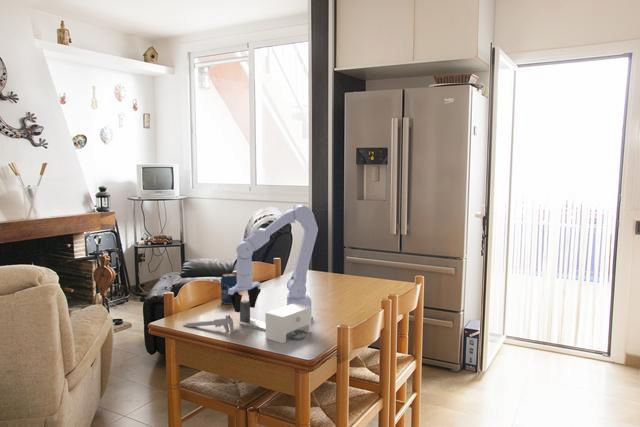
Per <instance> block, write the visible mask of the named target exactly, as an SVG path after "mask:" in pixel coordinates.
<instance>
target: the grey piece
mask: <svg viewBox="0 0 640 427" xmlns="http://www.w3.org/2000/svg"><path fill="white" fill-rule="evenodd" d="M239 323H240V325H243V326H246V327H249V328H253V329H255V330H259V331H263V332H266V321H262V320H258V319H254V318H251V307H250V301H249V300H246V299H244V300H241V303H240V312H239Z"/></svg>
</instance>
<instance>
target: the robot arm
mask: <svg viewBox="0 0 640 427" xmlns="http://www.w3.org/2000/svg"><path fill="white" fill-rule="evenodd" d="M296 221H297V222H298V223H299V224H300V226H301V227H302V228H303V229H302V230H303V231H304V232H303V235H302V239H301V244H300V247H299V251H298V254H297V258H296V262H295V267H294V270H293V272H292V274H291V277H290V278H288V281H287V283H286V287H287V290H288V291H289V292H288V294H287V295H286V306H287V305H290V304H293V303H297V304H301V305H305V306H309V307H312V299H311V297H310V296H309V295H308V294H307V286H306V284H307V274H308V270H309V266H310V262H311V258H312V254H313V251H314V249H315V248H314V246H315V243H316V240H317V236H318V231H319V227H318V224H317V221H316V218H315V214H314V212H313V211H312V210H311V208H310V207H309V206H306V205H305V204H302V203H297V204H295V205H294V206H292V207H291V208H289V209H288V210H286V211H284V212H283V213H282V214H281V215H280V216H278V217H277V218H276V219H275V220H274V221H272V222H271V223H270V224H268V226H266V227H265V228H260V227H259V229H257V228H255V230H253V233H252V234H250V235H249V236H248V237H245V238H244V239H243V241H241V242H239V243H238V244H237V246H236V248H235V250H236V254H237V256H236V260H237V261H236V277H237V284H236V286H234V287H232V288H230V289H228V296H229V297H230V299H231V301H232V304H231V305H232V306H233V311H234V312H235V313H239V314H240V303H241V301H242V298H243V295H242V294H240V293H242V292H245V291H247V295H248V301H250V308H251V309H254V308H255V307H256V303H257V300H258V297H259V295H260V293H261V292H262V291H261V282H260V281H253V261H252V260H253V259H252V258H253V257H252V256H253V254H254V252H256V251H257V250H259V249H260V248H262V247H263V246H264V245H266V244H267V243H268V242H269V241H270V239H271V238H270V236H271V235H272V234H274V233H276V232H277V231H278V230H280V229H281V228H282V227H284V226H285V225H287V224H295V223H296ZM313 318H314V316H312V315H311V319H313Z"/></svg>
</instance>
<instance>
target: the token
mask: <svg viewBox="0 0 640 427" xmlns="http://www.w3.org/2000/svg"><path fill="white" fill-rule="evenodd" d="M289 334H290V339H291V340H294V341H302V340H304V339H306V332H304V331H301V330H294V331H291V332H290V333H289Z"/></svg>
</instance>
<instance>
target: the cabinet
mask: <svg viewBox="0 0 640 427" xmlns="http://www.w3.org/2000/svg"><path fill="white" fill-rule="evenodd" d="M311 316H312V306H311V307H309V306H305V305H301V304H297V303H293V304H290V305H287V304H286V305H284V306H281V307H278V308H274V309H272V310H269V311H267V312H265V322H266V331H265V339H267V340H271V341H273V342H277V343H280V344H285V343H286V342H287V334H290V333H292V332H295V331H301V332H304V333H308V334H309V333H312V318H311Z"/></svg>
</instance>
